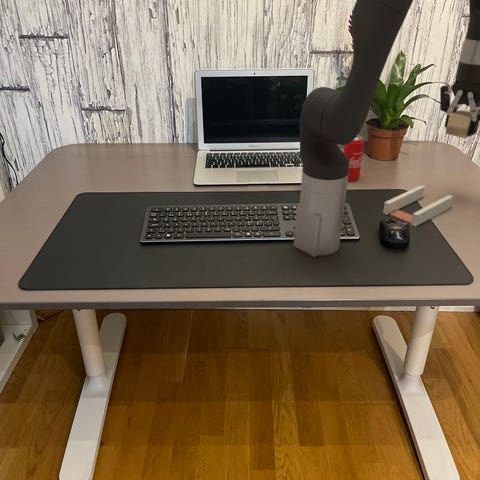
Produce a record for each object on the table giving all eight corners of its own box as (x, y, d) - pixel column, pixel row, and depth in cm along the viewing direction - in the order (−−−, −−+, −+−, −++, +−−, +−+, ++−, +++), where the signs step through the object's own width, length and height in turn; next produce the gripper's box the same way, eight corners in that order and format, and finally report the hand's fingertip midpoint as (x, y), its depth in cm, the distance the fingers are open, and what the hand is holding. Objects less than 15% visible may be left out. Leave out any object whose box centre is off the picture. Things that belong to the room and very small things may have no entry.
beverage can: (358, 175, 142) (363, 134, 136) (360, 182, 137) (366, 141, 131) (339, 174, 142) (344, 134, 136) (341, 181, 138) (346, 140, 132)
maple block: (464, 138, 119) (469, 118, 116) (445, 133, 122) (450, 113, 120) (476, 133, 122) (481, 113, 120) (457, 128, 125) (462, 109, 123)
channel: (415, 226, 115) (417, 215, 114) (382, 213, 121) (384, 202, 120) (450, 207, 124) (453, 196, 123) (418, 195, 130) (421, 185, 129)
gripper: (439, 57, 115) (425, 128, 124) (500, 67, 106) (480, 143, 115) (455, 54, 120) (440, 123, 128) (515, 63, 110) (495, 136, 119)
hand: (459, 132), depth 121 cm, fingers closed on maple block, 5 cm apart
